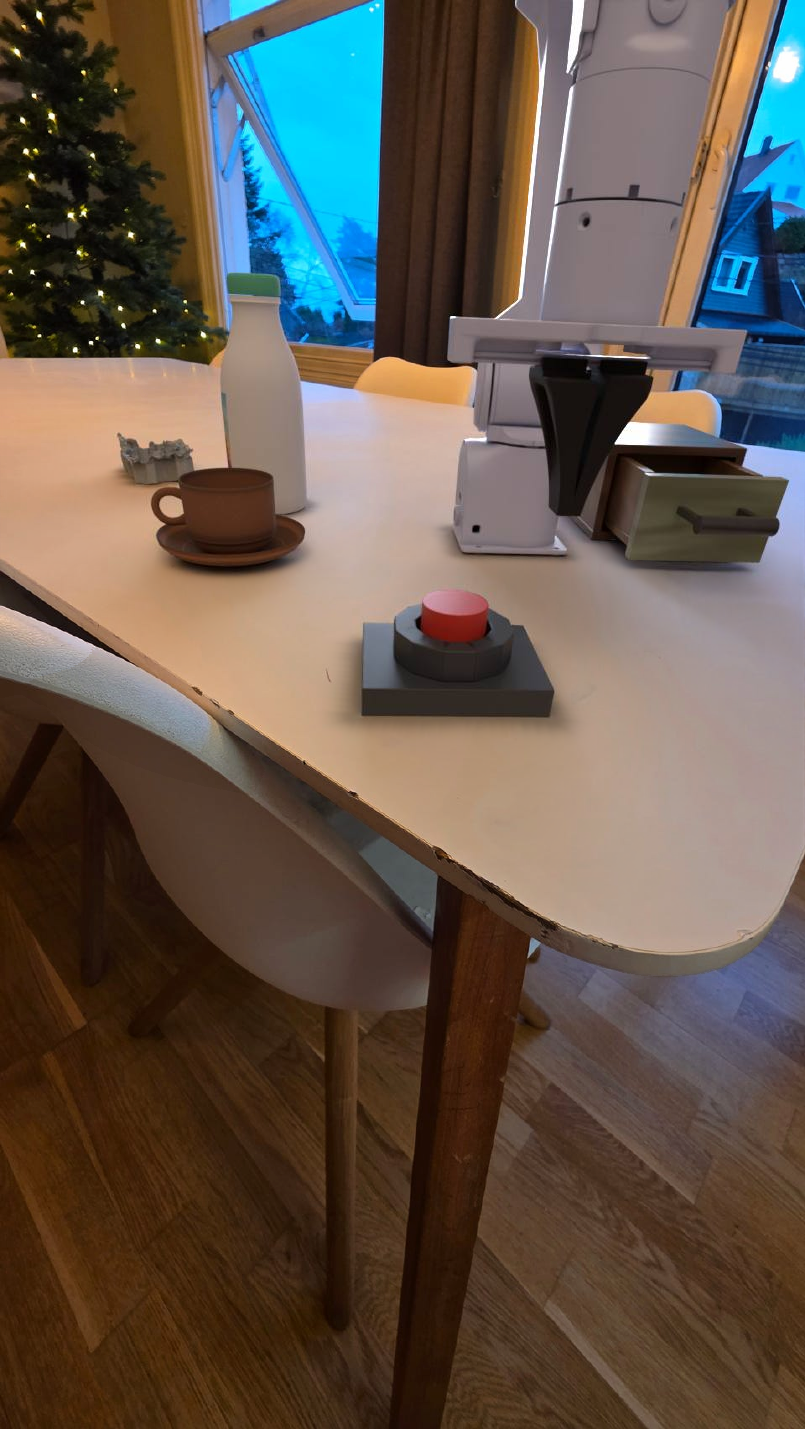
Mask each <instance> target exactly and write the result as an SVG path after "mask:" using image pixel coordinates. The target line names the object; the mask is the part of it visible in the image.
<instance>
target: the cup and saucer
mask: <svg viewBox="0 0 805 1429" xmlns="http://www.w3.org/2000/svg"><path fill="white" fill-rule="evenodd" d="M177 482H178V487H176V486H175V487H174V486H165V487H161V488H159V489H157V490H156V491H155V492H154V493H153V494H152V496H151V499H150V507H151V511H152V513H153V515H154V516H155V518H156V519H157V520H158V521H160V522H161V523H163V525H161V527H160V528H159V529H158V530H157V531H156V534H155V538H156V540H157V543H158V545H159V546H160V548H161V549H163V550H164V551H166V552H167V553H168V554H170V555H171V556H173V557H175V558H177V559H179V560H182V561H185V562H189V563H193V564H197V565H202V566H203V565H204V566H210V567H211V566H214V567H241V566H243V567H244V566H252V565H258V564H262V563H267V562H272V561H275V560H278V559H279V558H282V557H284V556H287V555H288V554H290V553H292V552H294V551H295V550H296V549H297V548H298V547H299V546H300V545H301V544H302V543H303V541H304V540H305V537H306V527H305V526H304V525H303V524H302V523H301V522H300V521H298V520H296V519H294V518H292V517H290V516H289V517H288V516H286V515H283V514H276V513H275V496H274V479H273V476H272V475H271V474H269V473H267V472H264V471H260V470H255V469H247V468H228V467H210V468H202V469H197V470H194V471H191V472H188V473H185V474H183V475H181V476H180V477H179V478H178V481H177ZM165 497H174V498H176V499H179V500H181V505H182V512H183V513H182V514H180V515H179V516H173V517H171V516H169V515H166V514H164V512H163V511H162V509H161V506H160V504H161V503H160V502H161V500H163V498H165Z"/></svg>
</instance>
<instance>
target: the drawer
mask: <svg viewBox="0 0 805 1429" xmlns="http://www.w3.org/2000/svg"><path fill="white" fill-rule="evenodd" d="M789 482H790V480H789V479H788V478H785V477H783V476H767V475H765V476H764V474H761V473H759V472H756V471H754V470H752V469H749V468H747V467H745V466H743V465H742V466H740V465H738V464H735V463H733V462H731V461H728V460H726V459H724V458H722V457H707V456H676V455H646V454H617V458H616V463H615V467H614V472H613V477H612V481H611V486H610V491H609V496H608V500H607V505H606V510H605V514H604V519H603V524H604V525H605V526H606V527H608V528H609V529H610V530H611V531H612V532H613V533H614V534H615V535H616V536H617V537H618V538H619V539H620V540H619V541H620V542H623V544H624V545H625V546H626V549H625V554H624V556H625V557H626V558H627V559H628V560H629V561H656V562H657V561H660V562H662V561H663V562H700V563H701V562H703V563H704V562H707V563H712V562H713V563H745V564H746V563H749V564H751V563H752V564H760V562H761V560H762V557H763V554H764V552H765V549H766V547H767V543H768V540H769V537H772V538H773V537H774V536H776V535H777V534H778V532H779V530H780V520H779V518H778V517H777V515H778V514H779V510H780V507H781V504H782V501H783V499H784V496H785V494H786V491H787V488H788V486H789Z"/></svg>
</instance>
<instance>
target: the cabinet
mask: <svg viewBox="0 0 805 1429" xmlns="http://www.w3.org/2000/svg"><path fill="white" fill-rule="evenodd" d="M747 452H748V448H747V447H744V446H742V445H739V444H736V443H733V442H731V441H728V440H727V439H724V438H721V437H718V436H715V435H713V434H710V433H708V432H705V431H703V430H700V429H697V428H695V427H691V426H689V425H687V424H682V423H681V424H677V423H676V424H675V423H654V422H651V423H650V422H629V423H628V425H627V426H626V427H625V429H624V430H623V432H622V433H621V435H620V436H619V438H618V440H617V441H616V443H615V444H614V446H613V448H612V449H611V451H610V453H609V454H608V456H607V458H606V460H605V462H604V464H603V465H602V467H601V469H600V471H599V473H598V475H597V477H596V479H595V482H594V484H593V486H592V488H591V490H590V493H589V495H588V497H587V500H586V502H585V505H584V508H583V510H582V513H581V516H568V517H569V518H570V519H571V520H572V521H573V522H574V523H575V524H576V526H578V527H579V529H580V530H581V531H582V532H584V534H585V535H586V536H587V537H588V538H589V539H590V540H591V541H621V540H620V539H619V538H618V537H617V536H616V535H615V534H614V533H613V532H612V531H611V530H610V529H609V528H608V527H606V526H605V525H604V524H603V519H604V514H605V510H606V505H607V500H608V496H609V491H610V486H611V481H612V477H613V472H614V467H615V463H616V458H617V454H646V455H676V456H707V457H722V458H724V459H726V460H728V461H731V462H733V463H735V464H738V465H740V466H742V467H743V466H744V462H745V458H746V455H747Z"/></svg>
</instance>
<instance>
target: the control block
mask: <svg viewBox="0 0 805 1429" xmlns="http://www.w3.org/2000/svg"><path fill="white" fill-rule="evenodd" d="M421 612H422V603H420V604H415V605H411V606H407V607H406V608H405V609H403V610H402V611H400V612H399V613H397V615H395V616H394V617H393V618H394V619H393V622H363V623H362V654H361V655H362V658H361V660H362V661H361V716H362V717H440V718H441V717H442V718H443V717H446V718H447V717H448V718H449V717H450V718H451V717H456V718H550V716H551V711H552V705H553V701H554V697H555V689H554V686H553V684H552V682H551V680H550V678H549V676H548V674H547V672H546V670H545V667H544V666H543V664H542V662H541V659H540V657H539V656H538V653H537V651H536V650H535V647H534V644H533V643H532V641H531V639H530V637H529V634H528V633H527V630H526V629H525V626H524V625H523V624H511V622H510V619H509V618H508V617H506V616H504V615H502V614H501V613H498V612H496V611H495V610H494V609H491V608H488V616H487V624H486V633H485V636H484V638H480V639H477V640H473V641H469V642H447V641H443V640H439V639H435V638H431V637H428V636H427V635H425V634H424V633H422V632H421Z"/></svg>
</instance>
